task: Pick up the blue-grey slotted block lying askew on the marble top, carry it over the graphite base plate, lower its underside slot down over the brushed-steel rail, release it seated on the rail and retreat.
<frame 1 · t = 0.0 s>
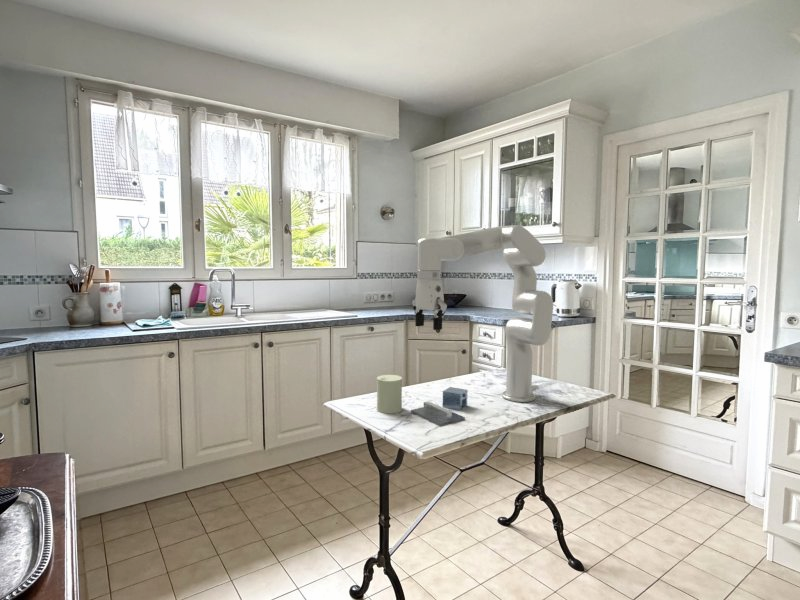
hand: (428, 327, 149), 31 cm above the table, fingers open, 9 cm apart
can: (389, 409, 162), on the table
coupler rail: (437, 415, 155), on the table
blue-grey slotted block: (455, 406, 166), on the table
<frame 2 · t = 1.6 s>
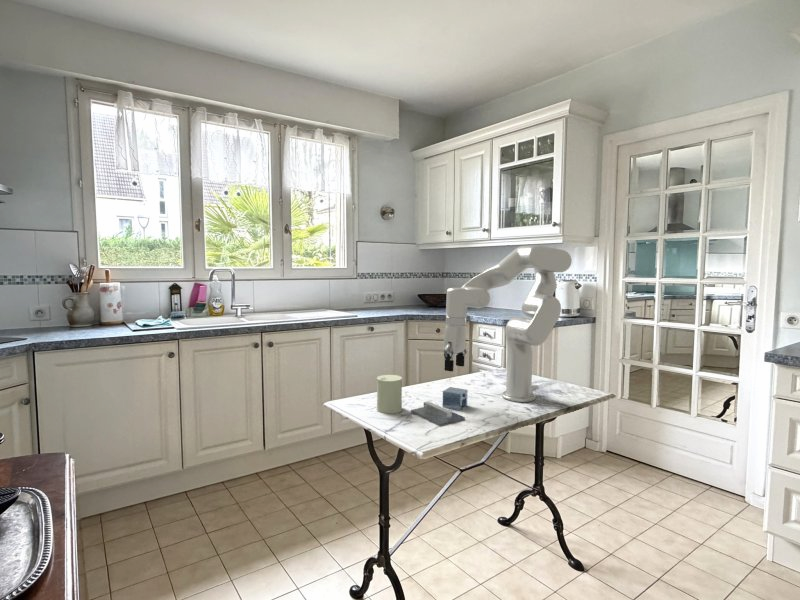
hand: (454, 368, 164), 14 cm above the table, fingers open, 9 cm apart
nothing on the table moved.
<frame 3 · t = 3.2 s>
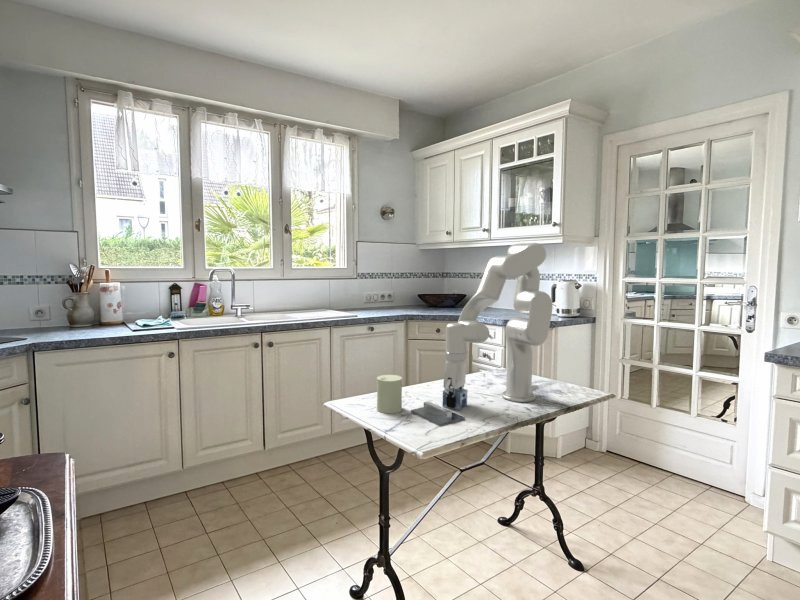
hand: (454, 404, 165), 1 cm above the table, fingers closed on blue-grey slotted block, 6 cm apart
blue-grey slotted block: (454, 406, 166), on the table, touching gripper
everything else where it was.
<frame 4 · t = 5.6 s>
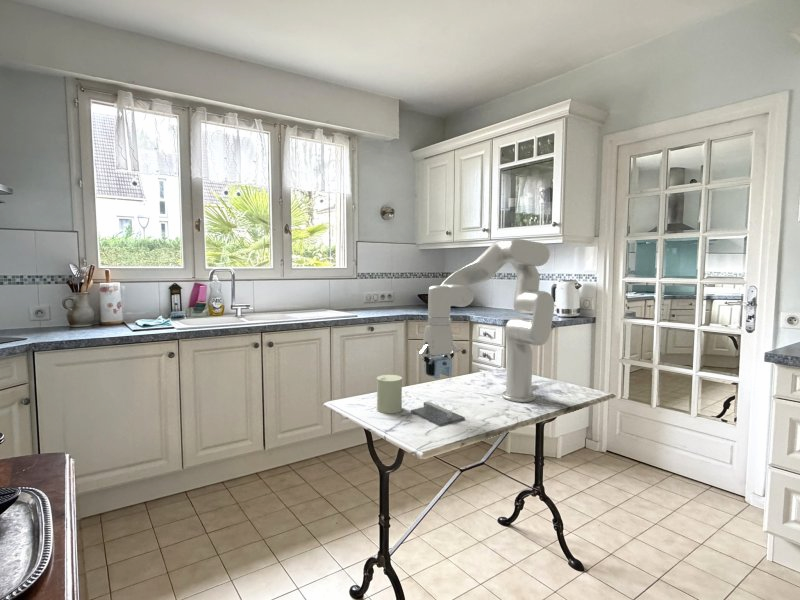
hand: (437, 373, 154), 15 cm above the table, fingers closed on blue-grey slotted block, 6 cm apart
blue-grey slotted block: (437, 375, 154), point 14 cm above the table, touching gripper
everything else where it was.
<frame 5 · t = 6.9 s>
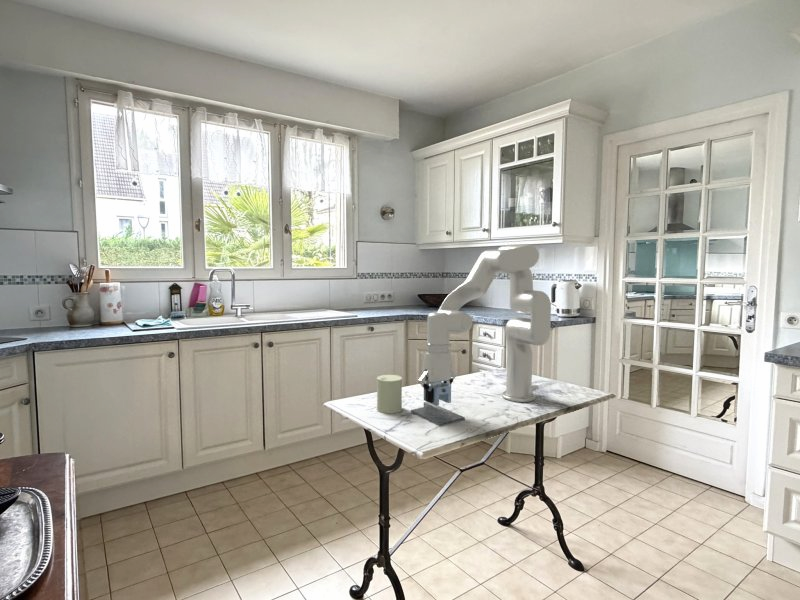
hand: (437, 399, 155), 6 cm above the table, fingers closed on blue-grey slotted block, 6 cm apart
blue-grey slotted block: (437, 401, 155), point 5 cm above the table, touching gripper
everything else where it was.
when the fingers open (2 cm above the table, at t = 8.0 s): blue-grey slotted block stays where it is, resting on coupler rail.
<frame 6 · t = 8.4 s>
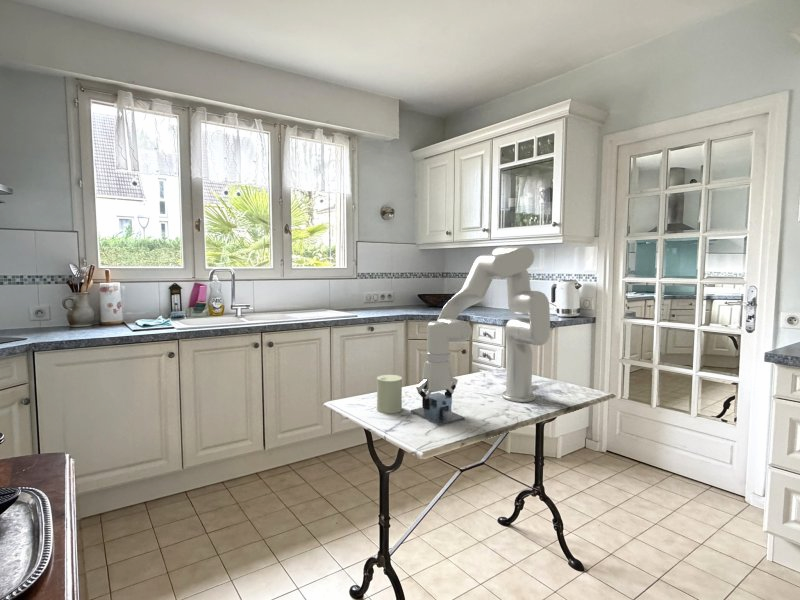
hand: (437, 406, 155), 3 cm above the table, fingers open, 9 cm apart
blue-grey slotted block: (437, 413, 155), point 1 cm above the table, touching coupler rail
everything else where it was.
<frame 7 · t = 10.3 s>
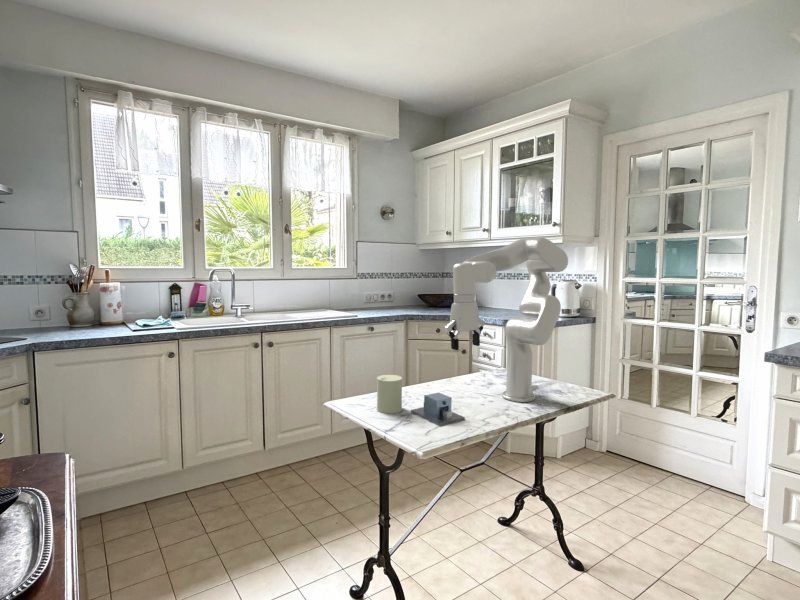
hand: (465, 347, 157), 23 cm above the table, fingers open, 9 cm apart
nothing on the table moved.
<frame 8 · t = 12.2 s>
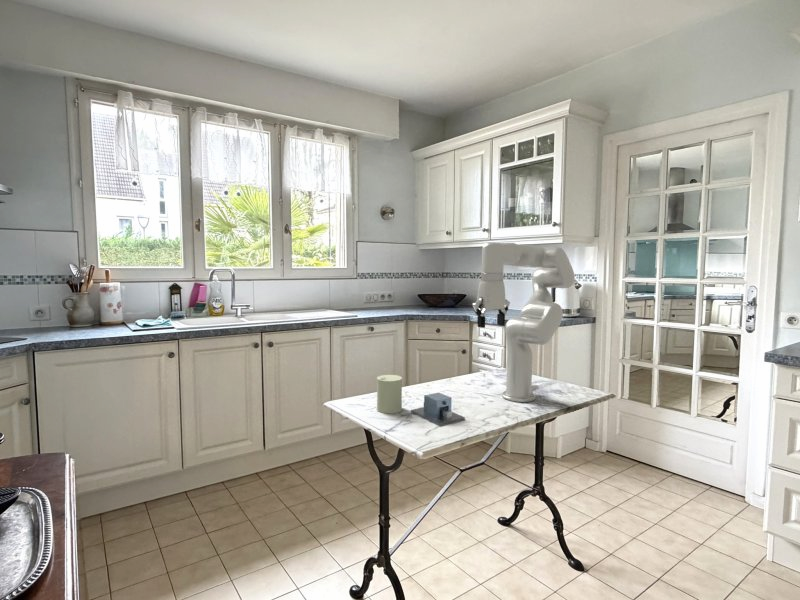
hand: (491, 326, 160), 30 cm above the table, fingers open, 9 cm apart
nothing on the table moved.
at the end: blue-grey slotted block 0.2 cm off-centre on the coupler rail, point 0.8 cm above the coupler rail's base; blue-grey slotted block tilted 0°; the gripper is holding nothing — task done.
